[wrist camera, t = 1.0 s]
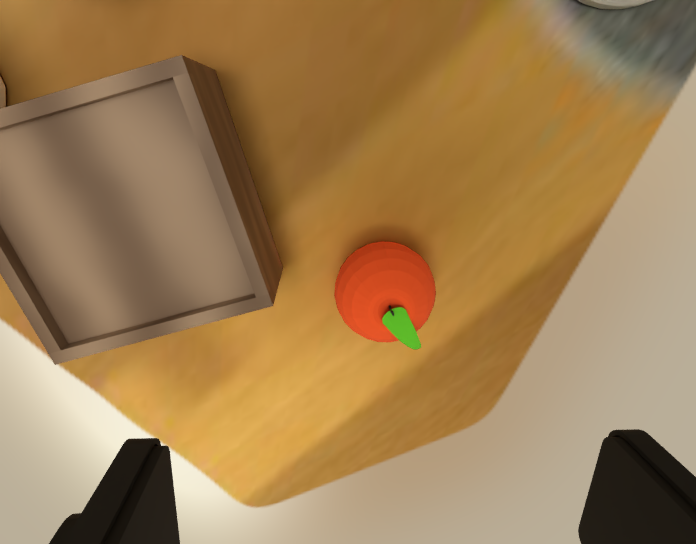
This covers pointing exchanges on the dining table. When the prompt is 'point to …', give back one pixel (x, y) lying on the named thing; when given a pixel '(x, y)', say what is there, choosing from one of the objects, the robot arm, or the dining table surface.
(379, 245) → the clementine
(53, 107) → the walnut stand
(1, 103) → the white cup
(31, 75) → the dining table surface
